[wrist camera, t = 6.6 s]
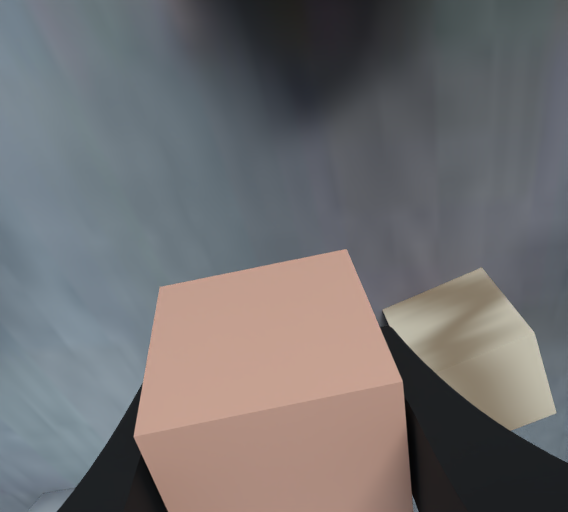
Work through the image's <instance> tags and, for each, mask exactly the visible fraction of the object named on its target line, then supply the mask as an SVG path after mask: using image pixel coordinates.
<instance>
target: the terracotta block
mask: <svg viewBox="0 0 568 512" xmlns="http://www.w3.org/2000/svg"><path fill="white" fill-rule="evenodd" d="M134 439H135V441H136V443H137V445H138V448H139V450H140V452H141V454H142V456H143V458H144V461H145V463H146V465H147V467H148V469H149V471H150V474H151V476H152V478H153V480H154V482H155V484H156V487H157V489H158V491H159V493H160V495H161V497H162V500H163V502H164V504H165V506H166V508H167V510H168V512H413V503H412V490H411V477H410V465H409V452H408V440H407V427H406V414H405V402H404V389H403V381H402V378H401V376H400V374H399V371H398V369H397V367H396V364H395V362H394V360H393V357H392V355H391V352H390V350H389V348H388V345H387V343H386V341H385V338H384V336H383V334H382V331H381V329H380V327H379V324H378V322H377V320H376V317H375V315H374V313H373V310H372V308H371V305H370V303H369V301H368V298H367V296H366V294H365V291H364V289H363V287H362V284H361V282H360V280H359V277H358V275H357V273H356V270H355V268H354V266H353V263H352V261H351V259H350V256H349V254H348V251H347V249H344V250H340V251H335V252H330V253H325V254H320V255H315V256H310V257H305V258H300V259H295V260H290V261H286V262H281V263H276V264H271V265H266V266H261V267H256V268H251V269H246V270H241V271H236V272H232V273H227V274H222V275H217V276H212V277H207V278H202V279H197V280H192V281H187V282H182V283H178V284H173V285H168V286H163V287H160V289H159V295H158V300H157V306H156V312H155V317H154V323H153V329H152V334H151V340H150V346H149V351H148V357H147V363H146V369H145V374H144V380H143V386H142V391H141V397H140V403H139V408H138V414H137V420H136V426H135V431H134Z"/></svg>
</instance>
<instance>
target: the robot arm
mask: <svg viewBox="0 0 568 512" xmlns="http://www.w3.org/2000/svg"><path fill="white" fill-rule="evenodd" d="M380 329H381V331H382V334H383V336H384V338H385V341H386V343H387V345H388V348H389V350H390V352H391V355H392V357H393V360H394V362H395V364H396V367H397V369H398V371H399V374H400V376H401V378H402V381H403V389H404V402H405V414H406V427H407V440H408V452H409V465H410V477H411V490H412V495H413V497H414V500H415V502H416V505H417V508H418V511H419V512H568V463H567V462H565V461H563V460H561V459H559V458H557V457H555V456H553V455H551V454H549V453H547V452H546V451H544V450H542V449H540V448H539V447H537V446H535V445H533V444H532V443H530V442H528V441H526V440H525V439H523V438H521V437H519V436H518V435H516V434H515V433H513V432H511V431H510V430H508V429H507V428H505V427H504V426H502V425H501V424H499V423H498V422H496V421H495V420H493V419H492V418H491V417H489V416H488V415H486V414H485V413H483V412H482V411H481V410H479V409H478V408H477V407H475V406H474V405H473V404H471V403H470V402H469V401H468V400H466V399H465V398H464V397H463V396H461V395H460V394H459V393H458V392H457V391H455V390H454V389H453V388H452V387H451V386H449V385H448V384H447V383H446V382H445V381H444V380H443V379H441V378H440V377H439V376H438V375H437V374H436V373H435V372H434V371H433V370H432V369H431V368H430V367H429V366H427V365H426V364H425V363H424V362H423V361H422V360H421V359H420V358H419V357H418V356H417V355H416V354H415V353H414V351H413V350H412V349H411V348H410V347H409V346H408V345H407V344H406V343H405V342H404V341H403V340H402V338H401V337H400V336H399V335H398V334H397V333H396V331H395V330H394V329H393V328H392V327H390V326H384V327H380ZM142 386H143V383H142V385H141V387H140V389H139V390H138V392H137V394H136V396H135V397H134V399H133V401H132V403H131V404H130V406H129V408H128V410H127V411H126V413H125V415H124V417H123V418H122V420H121V421H120V423H119V425H118V426H117V428H116V430H115V431H114V433H113V435H112V436H111V438H110V439H109V441H108V443H107V444H106V446H105V447H104V449H103V450H102V452H101V453H100V454H99V456H98V457H97V459H96V460H95V462H94V463H93V465H92V466H91V468H90V469H89V471H88V472H87V473H86V475H85V476H84V477H83V479H82V480H81V482H80V483H79V484H78V485H77V487H76V488H75V489H74V491H73V492H72V493H71V494H70V496H69V497H68V498H67V499H66V501H65V502H64V503H63V504H62V506H61V507H60V508H59V509H58V510H57V512H168V510H167V508H166V506H165V504H164V502H163V500H162V497H161V495H160V493H159V491H158V489H157V487H156V484H155V482H154V480H153V478H152V476H151V474H150V471H149V469H148V467H147V465H146V463H145V461H144V458H143V456H142V454H141V452H140V450H139V448H138V445H137V443H136V441H135V439H134V431H135V426H136V420H137V414H138V408H139V403H140V397H141V391H142Z"/></svg>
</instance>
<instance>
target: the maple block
mask: <svg viewBox="0 0 568 512" xmlns="http://www.w3.org/2000/svg"><path fill="white" fill-rule="evenodd" d="M383 312H384V315H385V317H386V319H387V321H388V324H389V326H390V327H392V328H393V329H394V330H395V331H396V333H397V334H398V335H399V336H400V337H401V338H402V340H403V341H404V342H405V343H406V344H407V345H408V346H409V347H410V348H411V349H412V350H413V351H414V353H415V354H416V355H417V356H418V357H419V358H420V359H421V360H422V361H423V362H424V363H425V364H426V365H427V366H429V367H430V368H431V369H432V370H433V371H434V372H435V373H436V374H437V375H438V376H439V377H440V378H441V379H443V380H444V381H445V382H446V383H447V384H448V385H449V386H451V387H452V388H453V389H454V390H455V391H457V392H458V393H459V394H460V395H461V396H463V397H464V398H465V399H466V400H468V401H469V402H470V403H471V404H473V405H474V406H475V407H477V408H478V409H479V410H481V411H482V412H483V413H485V414H486V415H488V416H489V417H491V418H492V419H493V420H495V421H496V422H498V423H499V424H501V425H502V426H504V427H505V428H507V429H508V430H510V431H511V430H514V429H516V428H519V427H522V426H524V425H527V424H530V423H532V422H535V421H537V420H540V419H543V418H545V417H548V416H551V415H553V414H556V409H555V406H554V402H553V398H552V395H551V391H550V387H549V384H548V380H547V376H546V373H545V369H544V366H543V362H542V358H541V355H540V351H539V347H538V344H537V340H536V336H535V333H534V331H533V330H532V329H531V328H530V327H529V325H528V324H527V323H526V322H525V320H524V319H523V318H522V317H521V315H520V314H519V313H518V312H517V310H516V309H515V308H514V307H513V306H512V304H511V303H510V302H509V301H508V299H507V298H506V297H505V296H504V294H503V293H502V292H501V291H500V290H499V288H498V287H497V286H496V285H495V283H494V282H493V281H492V280H491V278H490V277H489V276H488V275H487V274H486V272H485V271H484V270H483V269H482V268H480V269H477V270H475V271H473V272H470V273H468V274H465V275H463V276H461V277H458V278H456V279H454V280H451V281H449V282H447V283H444V284H442V285H440V286H437V287H435V288H433V289H430V290H428V291H426V292H423V293H421V294H419V295H416V296H414V297H412V298H409V299H407V300H404V301H402V302H400V303H397V304H395V305H393V306H390V307H388V308H386V309H383Z"/></svg>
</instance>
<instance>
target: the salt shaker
mask: <svg viewBox="0 0 568 512" xmlns="http://www.w3.org/2000/svg"><path fill="white" fill-rule="evenodd" d="M74 489H75V488H73V489H67V490H61V491H55V492H49V493H43V494H42V496H41V497H40V498H39V499H38V500H37V501H36V502H35V503H34V505H33V506H32V507H31V508H30V509H29V510H28V511H27V512H57V510H58V509H59V508H60V507H61V506H62V504H63V503H64V502H65V501H66V499H67V498H68V497H69V496H70V494H71V493H72V492H73V491H74Z"/></svg>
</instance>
